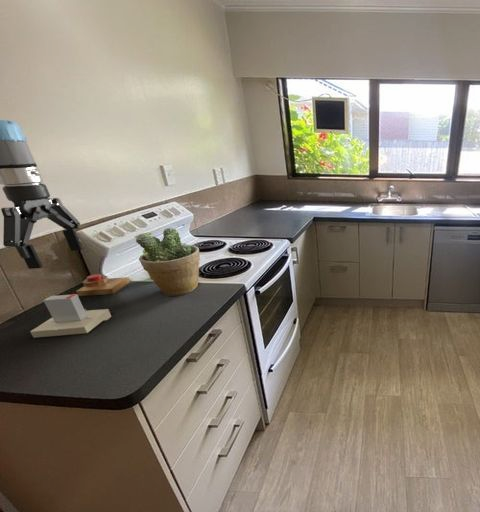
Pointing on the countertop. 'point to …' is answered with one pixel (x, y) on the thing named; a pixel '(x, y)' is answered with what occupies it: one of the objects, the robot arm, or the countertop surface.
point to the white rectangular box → (65, 308)
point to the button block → (102, 286)
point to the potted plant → (170, 262)
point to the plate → (71, 325)
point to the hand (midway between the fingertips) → (58, 258)
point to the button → (94, 277)
